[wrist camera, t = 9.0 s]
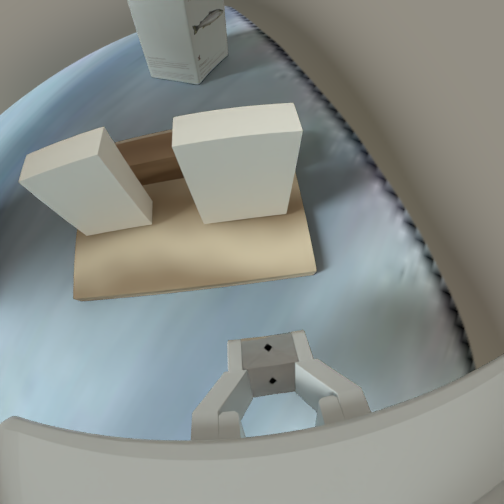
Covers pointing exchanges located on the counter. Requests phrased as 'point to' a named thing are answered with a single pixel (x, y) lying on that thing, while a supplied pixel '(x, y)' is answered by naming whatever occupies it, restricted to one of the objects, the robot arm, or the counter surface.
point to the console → (186, 239)
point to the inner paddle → (88, 184)
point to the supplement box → (181, 37)
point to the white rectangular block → (239, 159)
